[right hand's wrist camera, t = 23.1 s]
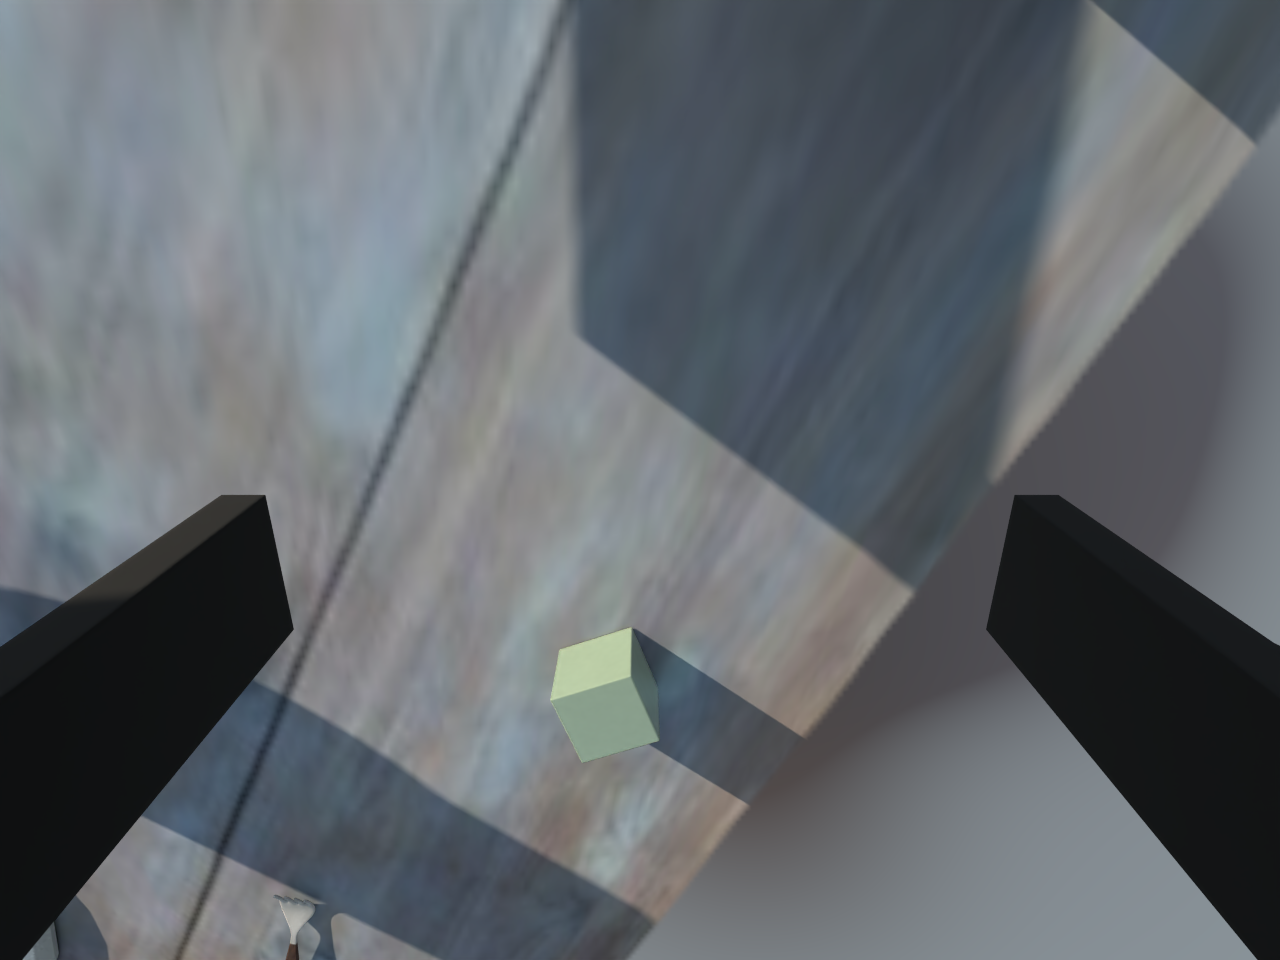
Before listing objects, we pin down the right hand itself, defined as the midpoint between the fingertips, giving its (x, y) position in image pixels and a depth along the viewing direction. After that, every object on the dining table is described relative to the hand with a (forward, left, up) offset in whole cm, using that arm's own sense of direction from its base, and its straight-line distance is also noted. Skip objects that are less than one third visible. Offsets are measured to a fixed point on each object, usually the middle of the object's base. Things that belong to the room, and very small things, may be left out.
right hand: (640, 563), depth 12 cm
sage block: (+2, +22, -27) cm, 35 cm away
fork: (+27, +48, -27) cm, 61 cm away
